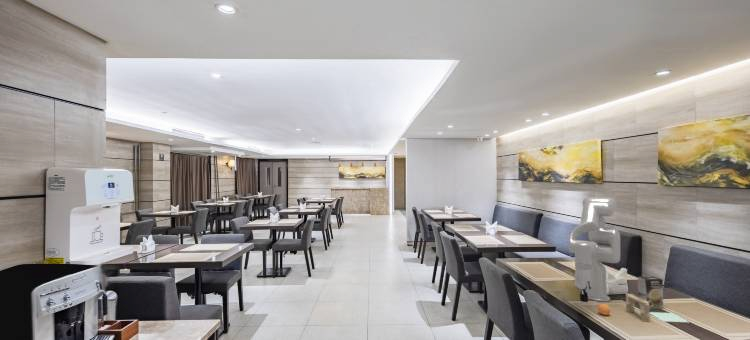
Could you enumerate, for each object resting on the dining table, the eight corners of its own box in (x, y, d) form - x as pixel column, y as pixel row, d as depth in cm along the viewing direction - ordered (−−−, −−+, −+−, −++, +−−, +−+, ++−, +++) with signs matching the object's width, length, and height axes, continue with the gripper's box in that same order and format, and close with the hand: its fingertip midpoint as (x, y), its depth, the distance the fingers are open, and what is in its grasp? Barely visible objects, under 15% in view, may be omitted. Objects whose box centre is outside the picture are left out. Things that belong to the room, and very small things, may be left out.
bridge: (643, 321, 173) (642, 302, 173) (626, 310, 187) (625, 293, 188) (649, 321, 173) (649, 303, 173) (632, 311, 187) (632, 293, 187)
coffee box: (647, 309, 189) (646, 279, 190) (638, 305, 196) (637, 276, 196) (664, 308, 190) (662, 279, 190) (654, 304, 196) (653, 276, 197)
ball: (596, 312, 185) (595, 302, 186) (607, 312, 185) (606, 302, 185) (601, 316, 180) (600, 305, 180) (612, 316, 179) (612, 306, 179)
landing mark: (647, 312, 185) (647, 312, 185) (672, 313, 183) (672, 313, 183) (662, 321, 173) (662, 321, 173) (689, 322, 171) (689, 322, 171)
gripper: (569, 263, 192) (570, 296, 191) (581, 269, 177) (582, 305, 176) (584, 263, 191) (585, 297, 190) (597, 269, 176) (598, 306, 175)
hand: (584, 301), depth 183 cm, fingers closed
